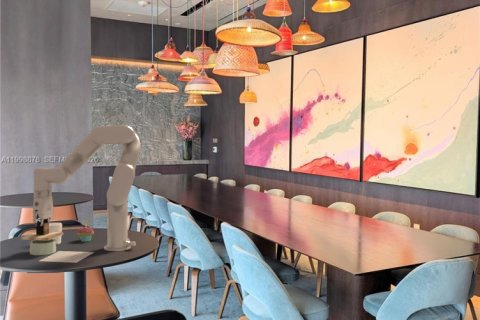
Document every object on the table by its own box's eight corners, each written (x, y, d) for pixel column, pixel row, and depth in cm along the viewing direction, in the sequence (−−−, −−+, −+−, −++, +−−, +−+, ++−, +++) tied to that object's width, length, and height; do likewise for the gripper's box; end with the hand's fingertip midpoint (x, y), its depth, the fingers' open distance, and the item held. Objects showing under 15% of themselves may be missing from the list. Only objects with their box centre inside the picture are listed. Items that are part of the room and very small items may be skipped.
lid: (63, 234, 200) (63, 221, 200) (48, 240, 187) (48, 226, 187) (37, 233, 201) (37, 220, 201) (20, 239, 188) (20, 225, 188)
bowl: (60, 250, 199) (60, 238, 199) (47, 256, 188) (47, 244, 188) (38, 249, 200) (38, 238, 200) (24, 255, 189) (24, 243, 189)
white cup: (57, 241, 218) (57, 222, 218) (65, 243, 213) (64, 223, 213) (42, 243, 212) (42, 224, 212) (49, 246, 207) (49, 226, 207)
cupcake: (95, 241, 218) (95, 218, 218) (79, 243, 213) (78, 220, 213) (91, 238, 225) (91, 216, 225) (75, 240, 221) (74, 217, 220)
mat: (94, 253, 195) (94, 252, 195) (76, 263, 178) (76, 262, 178) (59, 251, 196) (59, 251, 196) (38, 261, 179) (38, 261, 179)
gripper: (40, 196, 185) (40, 237, 185) (59, 192, 201) (59, 230, 202) (24, 196, 185) (24, 236, 186) (45, 191, 202) (45, 229, 203)
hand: (42, 232), depth 194 cm, fingers closed on lid, 4 cm apart
